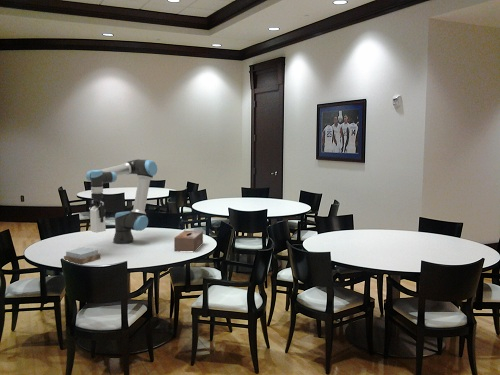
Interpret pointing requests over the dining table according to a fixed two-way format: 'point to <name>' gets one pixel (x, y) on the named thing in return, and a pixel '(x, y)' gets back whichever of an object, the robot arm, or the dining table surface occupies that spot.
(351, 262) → the dining table surface
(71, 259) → the bottom slab
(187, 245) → the tissue box cover
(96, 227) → the milk carton
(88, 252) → the top slab
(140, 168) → the robot arm
